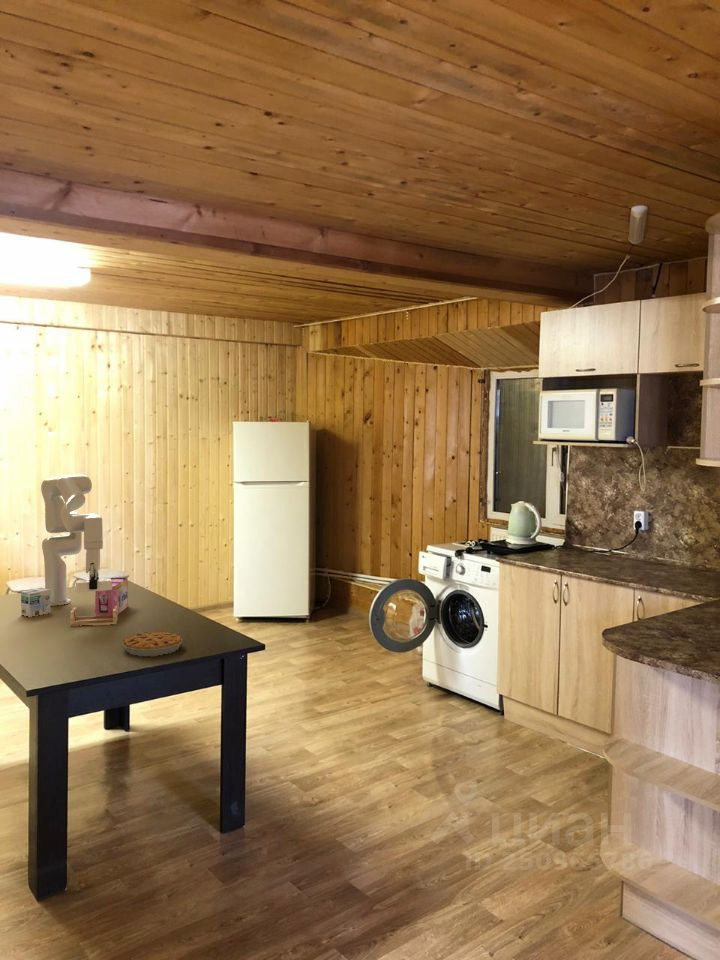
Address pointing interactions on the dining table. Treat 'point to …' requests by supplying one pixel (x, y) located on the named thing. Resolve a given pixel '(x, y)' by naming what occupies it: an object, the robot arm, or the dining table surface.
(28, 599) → the light bulb box
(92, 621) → the cradle
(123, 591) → the gum box
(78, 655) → the dining table surface
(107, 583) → the power strip
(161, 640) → the pie
